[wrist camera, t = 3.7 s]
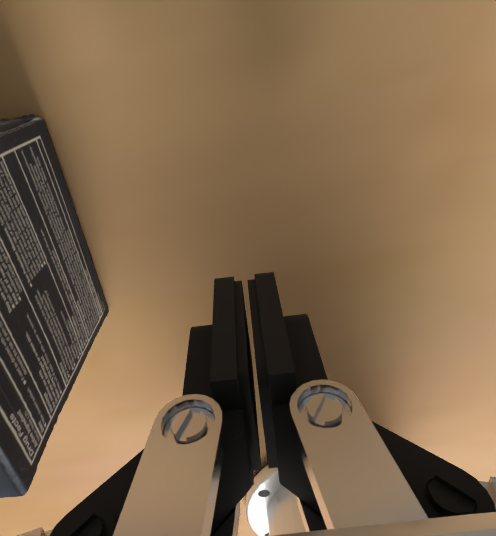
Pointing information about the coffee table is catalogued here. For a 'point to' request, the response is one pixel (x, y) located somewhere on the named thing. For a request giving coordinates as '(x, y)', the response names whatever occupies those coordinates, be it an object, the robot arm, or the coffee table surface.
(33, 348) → the small box
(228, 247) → the coffee table surface
